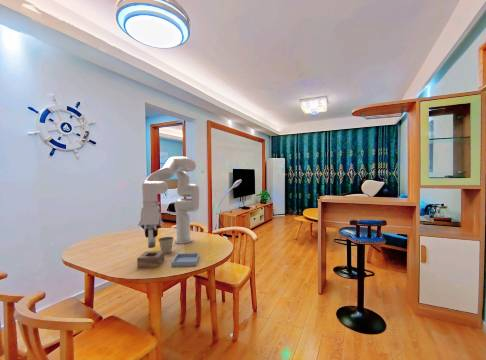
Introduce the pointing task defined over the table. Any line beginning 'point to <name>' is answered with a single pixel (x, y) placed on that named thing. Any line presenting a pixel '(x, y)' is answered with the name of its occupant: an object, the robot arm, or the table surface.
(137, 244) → the table surface
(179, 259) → the tray
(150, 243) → the pin
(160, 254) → the socket block
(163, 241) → the flower pot
